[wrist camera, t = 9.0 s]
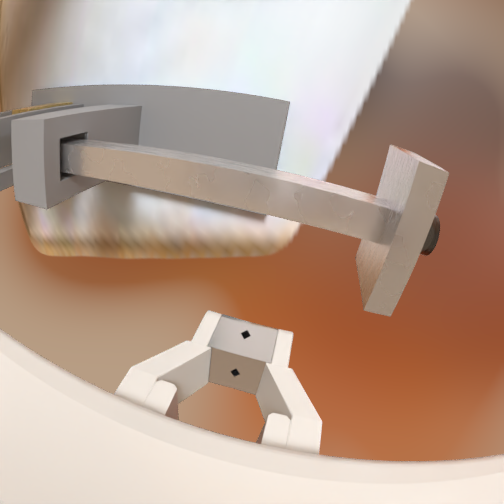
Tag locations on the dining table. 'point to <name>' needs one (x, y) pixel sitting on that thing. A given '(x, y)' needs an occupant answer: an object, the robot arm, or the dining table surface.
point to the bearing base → (133, 132)
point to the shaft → (295, 201)
